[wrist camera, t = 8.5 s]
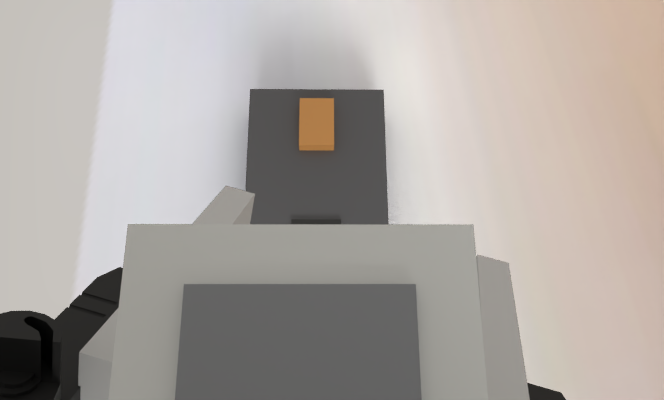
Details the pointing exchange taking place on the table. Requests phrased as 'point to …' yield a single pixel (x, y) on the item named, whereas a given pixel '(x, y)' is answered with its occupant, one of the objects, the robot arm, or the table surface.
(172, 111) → the table surface
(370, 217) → the power strip
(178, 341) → the block
